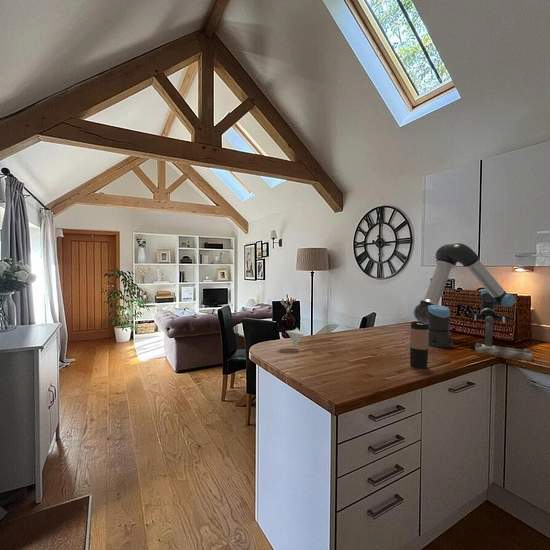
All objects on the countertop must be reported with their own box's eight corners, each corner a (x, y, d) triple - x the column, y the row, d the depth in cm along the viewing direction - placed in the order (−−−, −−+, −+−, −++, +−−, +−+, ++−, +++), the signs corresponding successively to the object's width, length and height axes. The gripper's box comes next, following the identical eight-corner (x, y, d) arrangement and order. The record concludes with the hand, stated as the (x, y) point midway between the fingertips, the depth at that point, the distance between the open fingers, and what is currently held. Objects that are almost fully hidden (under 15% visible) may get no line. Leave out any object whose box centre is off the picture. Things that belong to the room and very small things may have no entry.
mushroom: (293, 346, 177) (294, 325, 177) (308, 349, 169) (308, 327, 169) (280, 349, 170) (281, 327, 169) (295, 353, 162) (296, 330, 162)
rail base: (475, 353, 168) (475, 345, 168) (475, 349, 178) (475, 341, 178) (532, 361, 155) (532, 352, 155) (528, 356, 165) (529, 347, 165)
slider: (481, 350, 169) (482, 315, 169) (481, 348, 173) (482, 314, 173) (495, 352, 166) (496, 317, 165) (494, 350, 170) (495, 315, 170)
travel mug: (408, 366, 142) (410, 323, 142) (410, 362, 149) (411, 321, 149) (427, 369, 139) (428, 325, 138) (428, 365, 145) (429, 322, 145)
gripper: (512, 322, 189) (516, 328, 171) (464, 319, 202) (463, 323, 184) (512, 310, 189) (517, 314, 171) (464, 307, 202) (464, 311, 184)
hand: (489, 319), depth 177 cm, fingers open, 13 cm apart
